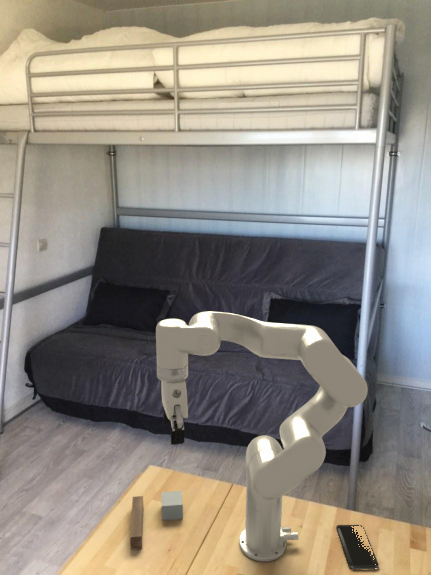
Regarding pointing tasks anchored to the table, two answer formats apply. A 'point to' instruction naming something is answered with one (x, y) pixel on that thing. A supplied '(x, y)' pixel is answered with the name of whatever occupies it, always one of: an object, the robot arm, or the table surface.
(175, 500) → the block
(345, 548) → the phone
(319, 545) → the table surface
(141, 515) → the brown wooden bar
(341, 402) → the robot arm
